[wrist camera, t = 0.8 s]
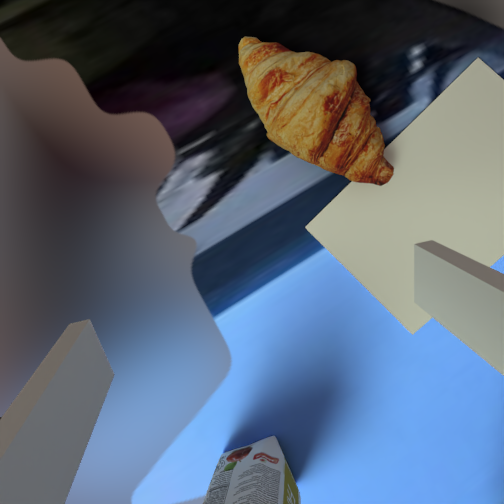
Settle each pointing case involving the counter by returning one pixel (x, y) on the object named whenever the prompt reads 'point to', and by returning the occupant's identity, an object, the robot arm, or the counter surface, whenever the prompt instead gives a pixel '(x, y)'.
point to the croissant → (315, 110)
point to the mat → (426, 195)
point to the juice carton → (253, 476)
